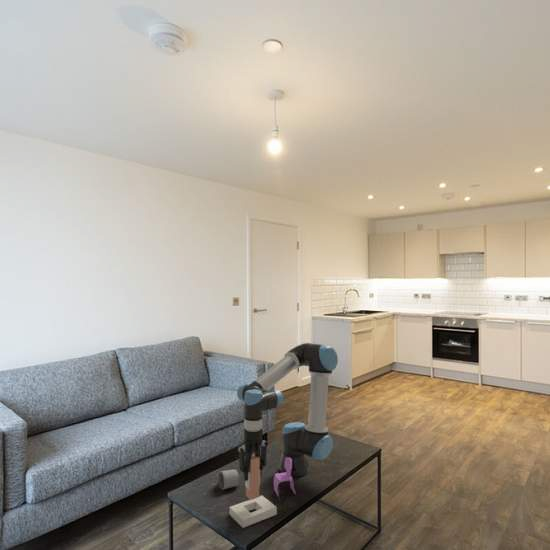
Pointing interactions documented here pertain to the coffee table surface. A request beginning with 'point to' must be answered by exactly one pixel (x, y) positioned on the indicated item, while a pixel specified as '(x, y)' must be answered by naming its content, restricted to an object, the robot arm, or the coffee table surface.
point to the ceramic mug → (228, 479)
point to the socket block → (246, 518)
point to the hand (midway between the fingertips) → (252, 485)
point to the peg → (254, 478)
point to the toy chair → (284, 476)
